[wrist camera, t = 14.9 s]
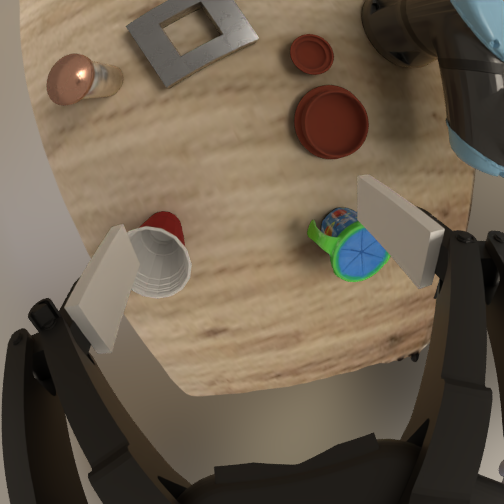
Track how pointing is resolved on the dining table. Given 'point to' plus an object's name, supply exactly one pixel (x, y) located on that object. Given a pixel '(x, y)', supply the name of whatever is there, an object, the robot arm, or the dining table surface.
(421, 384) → the robot arm
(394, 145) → the dining table surface
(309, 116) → the pottery
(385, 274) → the dining table surface
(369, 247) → the snack cup
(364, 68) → the dining table surface
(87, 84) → the silver copper-capped cylinder
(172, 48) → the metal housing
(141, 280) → the plastic cup
